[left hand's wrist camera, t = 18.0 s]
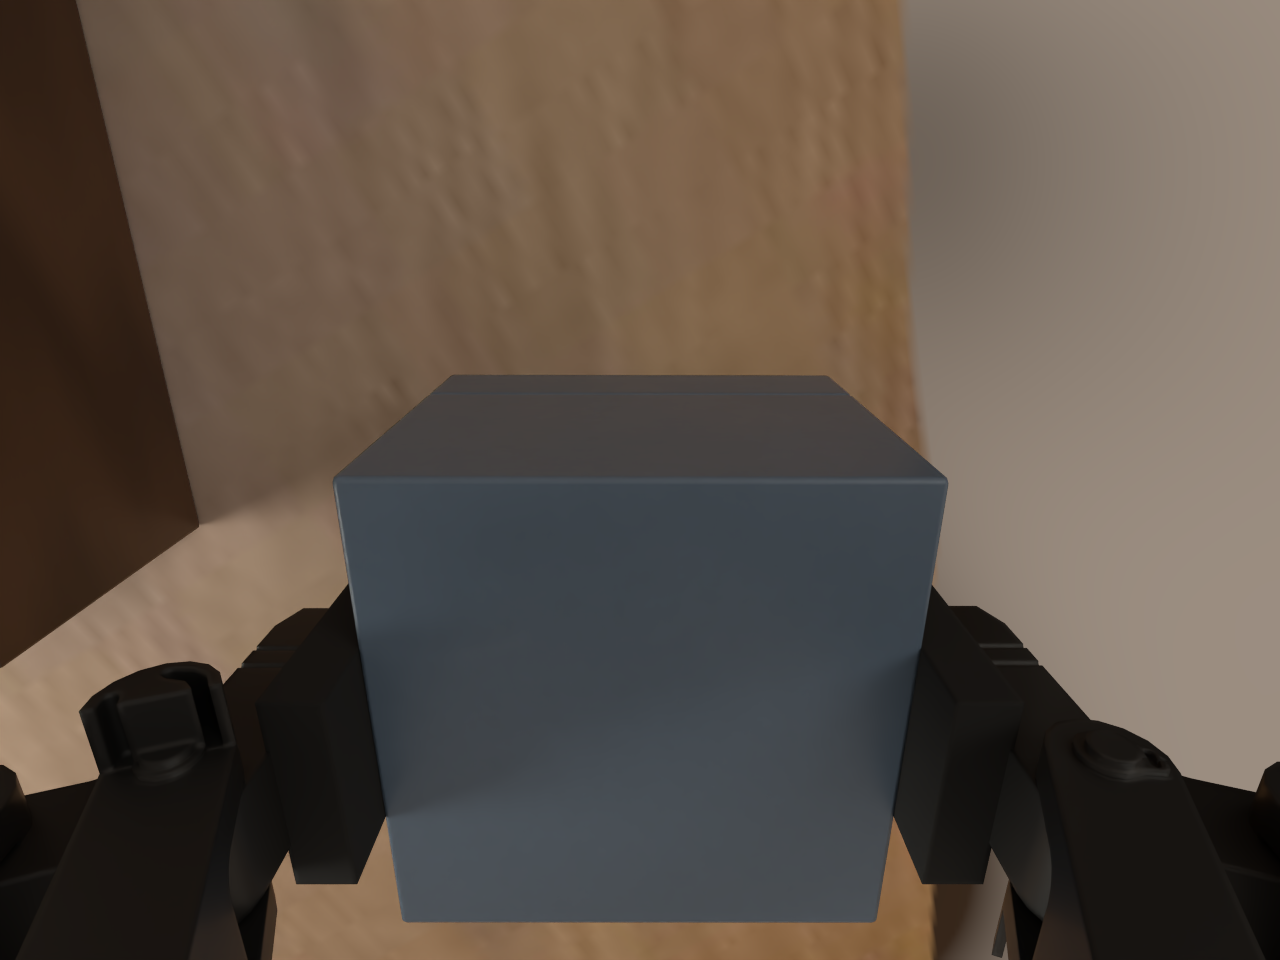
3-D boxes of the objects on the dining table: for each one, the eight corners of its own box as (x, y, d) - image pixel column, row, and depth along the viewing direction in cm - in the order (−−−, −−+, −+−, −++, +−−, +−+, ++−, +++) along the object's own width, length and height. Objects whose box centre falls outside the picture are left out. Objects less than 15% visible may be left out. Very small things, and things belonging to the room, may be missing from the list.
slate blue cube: (798, 690, 16) (878, 925, 10) (479, 689, 16) (401, 925, 10) (829, 374, 13) (952, 478, 8) (450, 374, 13) (329, 477, 8)
